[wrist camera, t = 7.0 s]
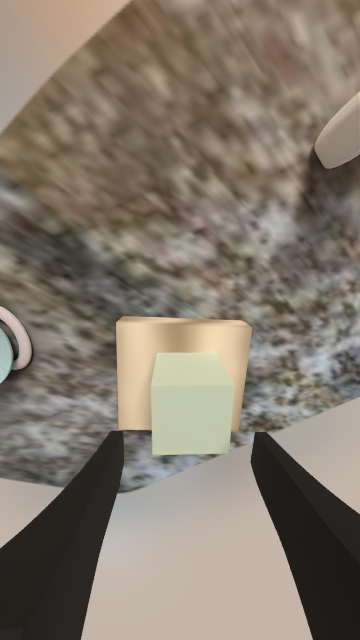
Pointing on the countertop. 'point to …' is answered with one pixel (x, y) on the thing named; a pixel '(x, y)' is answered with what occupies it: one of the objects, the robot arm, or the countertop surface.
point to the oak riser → (173, 337)
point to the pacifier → (3, 354)
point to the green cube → (191, 404)
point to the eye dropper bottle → (340, 136)
